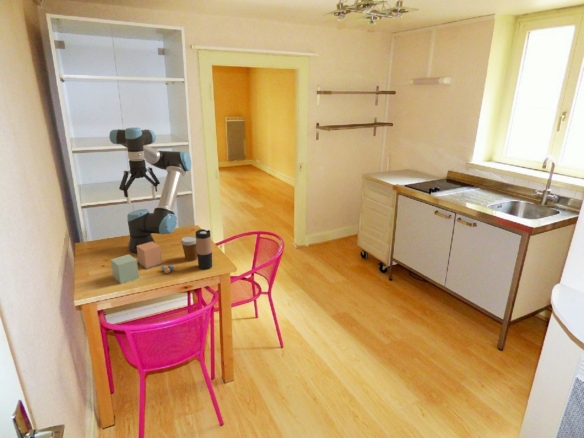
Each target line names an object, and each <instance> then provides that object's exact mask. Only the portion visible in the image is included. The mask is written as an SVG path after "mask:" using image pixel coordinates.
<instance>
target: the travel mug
mask: <svg viewBox="0 0 584 438" xmlns="http://www.w3.org/2000/svg"><path fill="white" fill-rule="evenodd" d="M195 236H196V246H197V265H198V269H199V270H202V271H203V270H205V271H206V270H210V269H212V268H213V249H212V237H211V230H210V229H208V230H207V229H198V230H196V231H195Z"/></svg>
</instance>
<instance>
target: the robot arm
mask: <svg viewBox="0 0 584 438" xmlns="http://www.w3.org/2000/svg"><path fill="white" fill-rule="evenodd" d="M156 137H157V136H156V134H155V132H154V131H153V130H151V129H141V128H140V127H127V128H125V129H120V128H118V129H111V131H110V132H109V141H110V142H111V143H112V144H114V145H120V146H123V147H125V148H126V149H127V157H128V165H129V170H124V171H123V176H122V178H121V182H120V184H119V187H118V188H119V190H120V191H123V196H124V197H125V198H126V202H127V204H131V202H132V201H131V194H130V190H129V189H130V187H131V185H132V184H133V182H134V181H135V180H136V179H142V178H145V179H146V180H147V181H148V182H149V183H150V184H151V186H150V188H151V194H152V199H157V193H156V192H158V188H157V187H158V185H161V182H160V180H159V179H158V178H157V176H156V174H155V173H154V171H153V168H152V167H147V166H146V163H148V164H149V165H151V166H153V167H155V168H158V169H160V170H164V171H166V172H167V174H166V177H165V180H164V183H163V188H162V191H161V195H160V198H159V202H158V205H157V206H156V207H155V208H153V209H154V210H153V212H150V211H149V209H147V208H142V209H137V210H135V209H134V210H132V211H130V212H129V213H128V214H127V225H128V231H129V241H128V246H127V249H128V252H129V253H132V254H137V246H138V245H141V244H145V243H148V242H152V241H153V242H155V243H156V241H155V239H154V237H153V236H152V234H156V235H157V234H158V235H170V234H172V233H173V232H174V231H175V229H176V227H177V225H178V223H177V216H176V215H175V214H176V213H175V212H174V208H175V204H176V201H177V196H178V193H179V189H180V186H181V182H182V177H185V175H186V173H187V172H189V171H190V170H191V169H192V160H191V159H192V158H191V156H190V154H189V153H188V152H187V151H174V150H173V151H171V150H170V151H169V150H158V149H156V148H153V147H150V146H149V145H151V144H153V143H155V142H156V139H157V138H156ZM147 172H148V173H149V175H148V174H147ZM129 175H130V177H129ZM149 176H151V177H149Z"/></svg>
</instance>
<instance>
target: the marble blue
mask: <svg viewBox="0 0 584 438" xmlns="http://www.w3.org/2000/svg"><path fill="white" fill-rule="evenodd" d="M167 268H170V272H171V271H173V270H174V268H175V267H174V265H173V264H169V265H168V266H167Z"/></svg>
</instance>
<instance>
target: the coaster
mask: <svg viewBox="0 0 584 438" xmlns="http://www.w3.org/2000/svg"><path fill="white" fill-rule="evenodd" d="M137 265H139V266H141V268H143V269H144V270H149V269H152V268H156V267H157V266H160V265H161V266H162V265H164V262H163V261H162V263H161V264H158V265H155V266H152V267H149V268H145V267H144V266H142V265H141V264H140V263H139V262H137Z"/></svg>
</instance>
